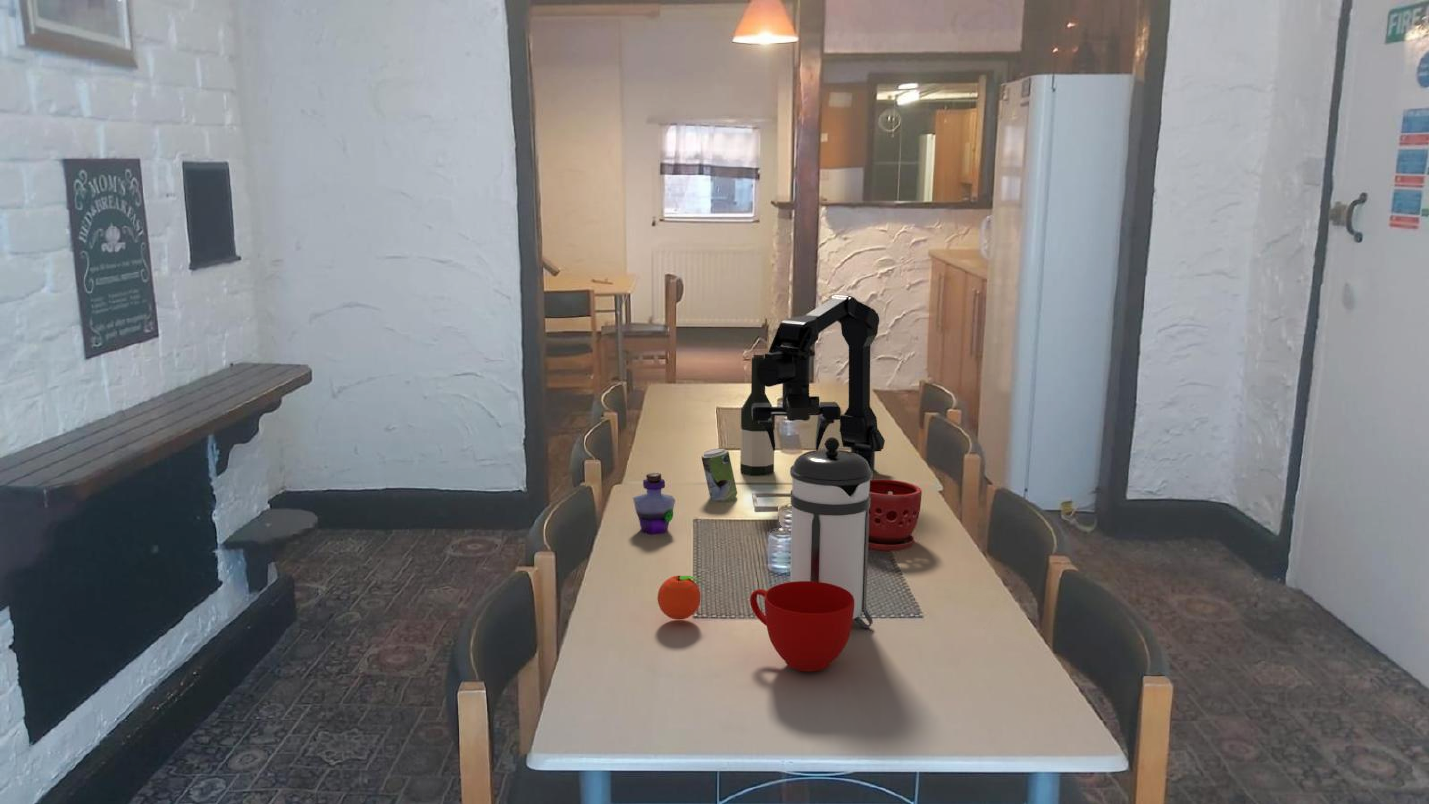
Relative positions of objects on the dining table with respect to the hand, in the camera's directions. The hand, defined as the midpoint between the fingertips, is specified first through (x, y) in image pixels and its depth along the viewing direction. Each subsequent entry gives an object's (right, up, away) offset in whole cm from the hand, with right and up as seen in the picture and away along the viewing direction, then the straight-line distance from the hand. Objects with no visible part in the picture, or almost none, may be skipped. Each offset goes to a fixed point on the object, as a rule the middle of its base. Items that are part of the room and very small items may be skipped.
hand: (795, 450), depth 233 cm
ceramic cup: (-5, -28, -74) cm, 79 cm away
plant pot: (+16, -18, -23) cm, 33 cm away
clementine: (-23, -25, -59) cm, 68 cm away
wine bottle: (-7, -8, +23) cm, 26 cm away
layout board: (+7, -13, 0) cm, 15 cm away
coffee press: (0, -25, -59) cm, 64 cm away
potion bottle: (-30, -16, -16) cm, 37 cm away
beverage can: (-17, 0, +1) cm, 17 cm away
